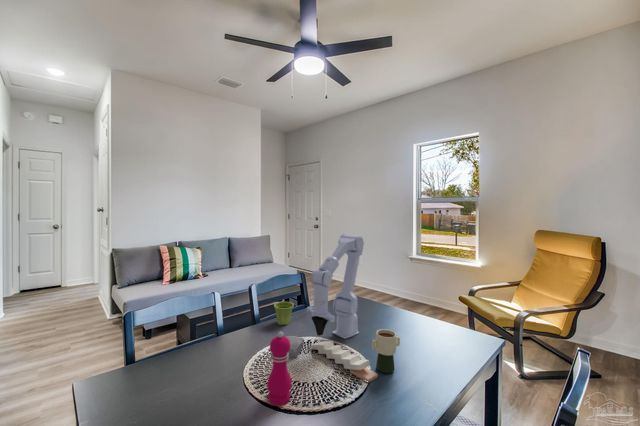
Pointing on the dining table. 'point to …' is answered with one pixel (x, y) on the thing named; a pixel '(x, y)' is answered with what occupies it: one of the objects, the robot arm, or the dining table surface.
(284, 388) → the pepper mill
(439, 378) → the dining table surface
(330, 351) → the domino
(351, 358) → the domino
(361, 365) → the domino
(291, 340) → the stone block
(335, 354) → the domino
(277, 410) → the dining table surface
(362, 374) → the domino
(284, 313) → the plant pot
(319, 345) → the domino
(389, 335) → the character mug
